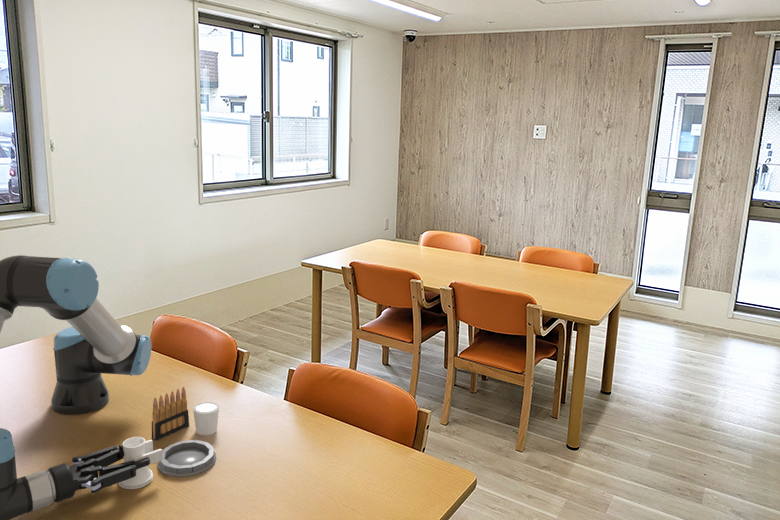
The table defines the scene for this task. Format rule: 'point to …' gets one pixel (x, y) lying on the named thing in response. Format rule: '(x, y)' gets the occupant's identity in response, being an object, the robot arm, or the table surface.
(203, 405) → the shot glass
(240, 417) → the table surface
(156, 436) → the ammunition clip
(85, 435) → the table surface
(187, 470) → the socket ring
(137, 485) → the vase
